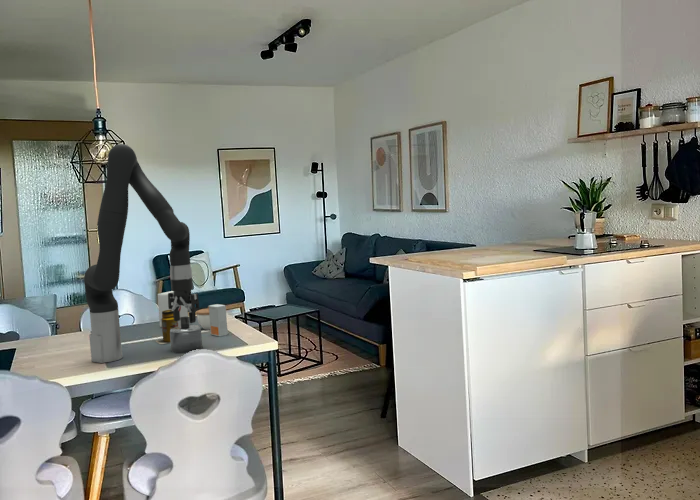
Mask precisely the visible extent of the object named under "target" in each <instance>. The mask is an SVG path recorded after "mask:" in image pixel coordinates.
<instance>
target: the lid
mask: <svg viewBox="0 0 700 500" xmlns="http://www.w3.org/2000/svg"><path fill="white" fill-rule="evenodd" d="M180 321H181V326H178V327H174V328H171V329H170V332H171V333H189V332H195V331H198V330H200V328H201V326H200V325H199V324H198V325H197V324H190V322H189V315H188V316H184V317H180Z"/></svg>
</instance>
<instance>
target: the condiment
mask: <svg viewBox="0 0 700 500" xmlns="http://www.w3.org/2000/svg"><path fill="white" fill-rule="evenodd" d="M161 321H162V328H161V331H162V339H159V340H155V342H156V343H157V344H158V345H164V344H171V341H170V329H171V328H174V327H178V321H174V316H173V311H172V310H165V311H162V319H161Z"/></svg>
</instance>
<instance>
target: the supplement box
mask: <svg viewBox="0 0 700 500" xmlns="http://www.w3.org/2000/svg"><path fill="white" fill-rule="evenodd" d="M172 292H173V291H172V290H171V291H170V290H169V291H166V292H161V293H157V304H158V305H157V307H158V317H159V318H158V319H159V328H161V329H162V321H161V319H162V311H165V310H172V309H169V308H168V293H172ZM171 305H173V302H172V303H171ZM179 311H180V317H184V316H188V317H189V311H188V309H187V308H185V306H182V305H181V306H180V308H179ZM178 326H181V321H180V320H179V321H178Z"/></svg>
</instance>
